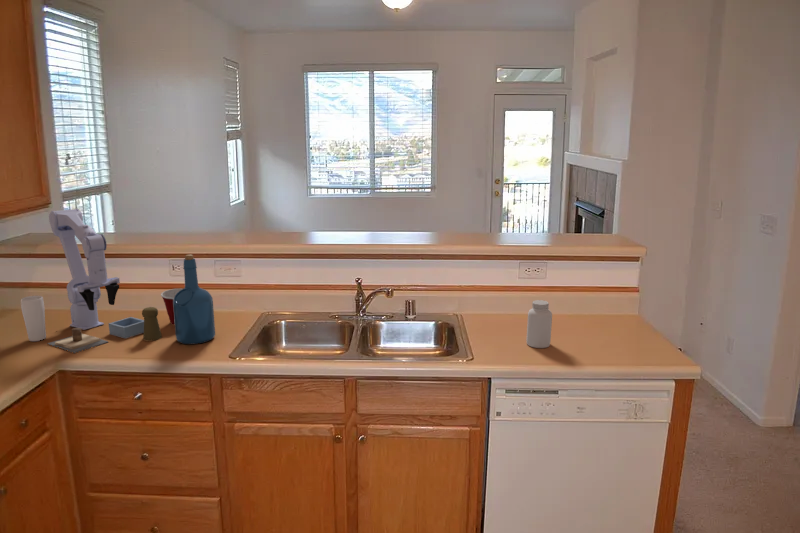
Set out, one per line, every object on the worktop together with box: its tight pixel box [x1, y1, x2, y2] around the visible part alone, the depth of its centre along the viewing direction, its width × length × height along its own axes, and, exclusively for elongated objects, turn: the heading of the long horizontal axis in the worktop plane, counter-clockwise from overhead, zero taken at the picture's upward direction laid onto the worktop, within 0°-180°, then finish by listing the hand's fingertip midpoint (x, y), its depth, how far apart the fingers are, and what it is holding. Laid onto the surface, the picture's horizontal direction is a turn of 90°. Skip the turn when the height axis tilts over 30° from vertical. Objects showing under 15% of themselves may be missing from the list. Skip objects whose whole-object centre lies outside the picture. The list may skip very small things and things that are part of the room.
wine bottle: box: [173, 253, 216, 345], centre depth 209 cm, size 14×13×30 cm
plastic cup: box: [160, 288, 183, 326], centre depth 228 cm, size 11×11×12 cm
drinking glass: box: [20, 295, 47, 342], centre depth 210 cm, size 7×7×15 cm
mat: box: [46, 335, 109, 354], centre depth 208 cm, size 16×12×1 cm
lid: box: [55, 327, 101, 349], centre depth 207 cm, size 10×10×5 cm
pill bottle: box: [525, 299, 553, 349], centre depth 204 cm, size 8×8×15 cm
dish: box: [108, 316, 144, 339], centre depth 218 cm, size 9×9×4 cm
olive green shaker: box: [141, 306, 162, 342], centre depth 212 cm, size 6×6×11 cm
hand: (101, 307), depth 214 cm, fingers open, 7 cm apart
